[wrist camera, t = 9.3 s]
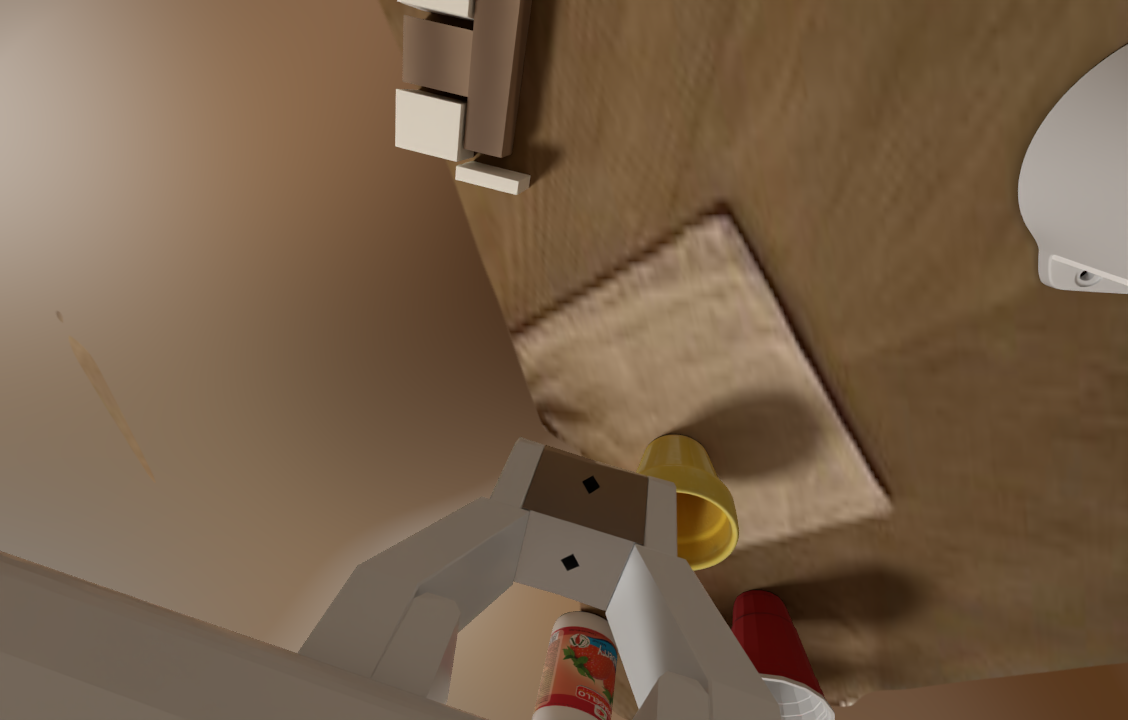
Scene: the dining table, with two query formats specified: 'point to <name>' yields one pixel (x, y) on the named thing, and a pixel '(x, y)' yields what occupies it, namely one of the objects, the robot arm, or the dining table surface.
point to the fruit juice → (578, 670)
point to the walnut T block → (475, 68)
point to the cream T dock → (447, 119)
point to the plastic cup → (779, 655)
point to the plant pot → (694, 499)
